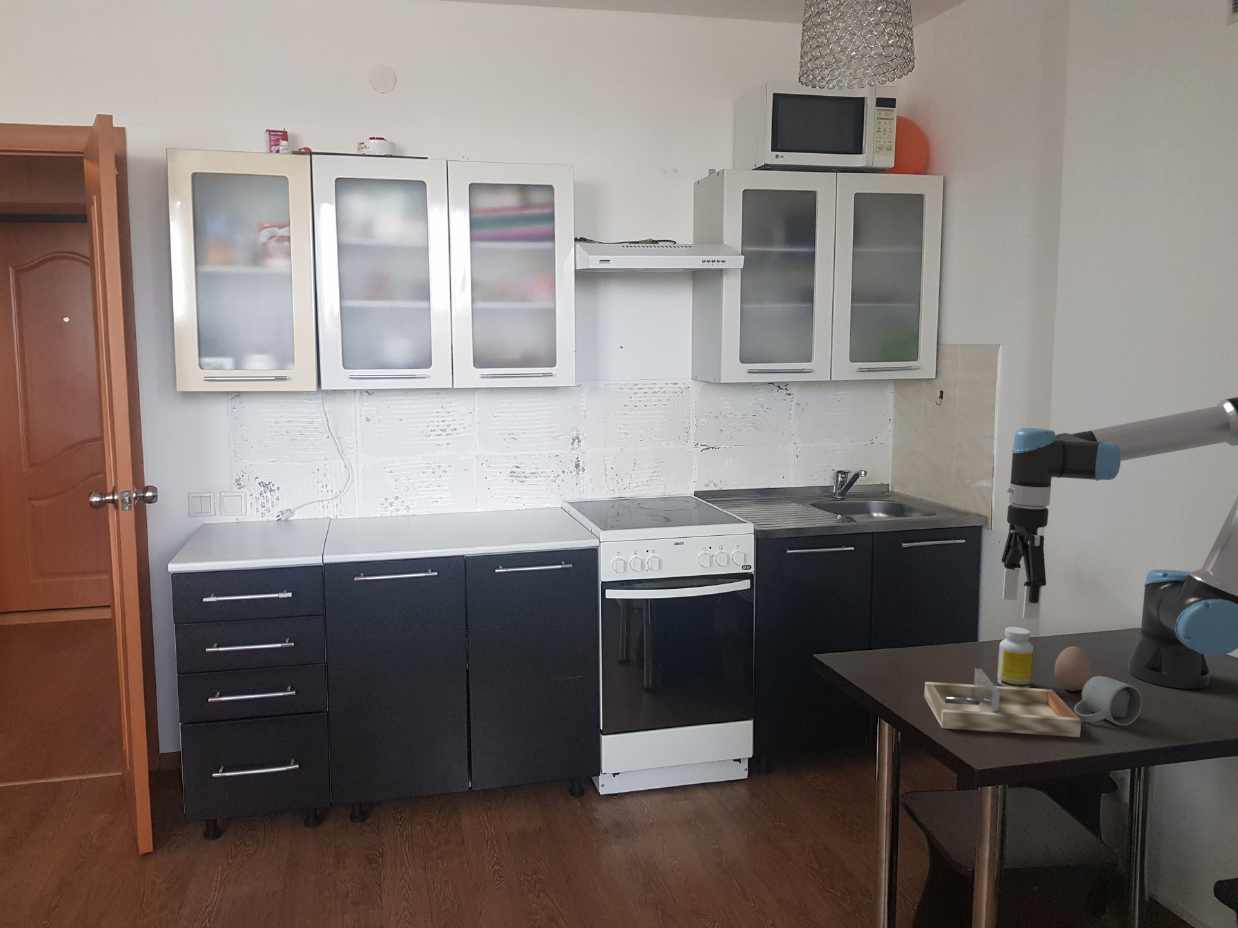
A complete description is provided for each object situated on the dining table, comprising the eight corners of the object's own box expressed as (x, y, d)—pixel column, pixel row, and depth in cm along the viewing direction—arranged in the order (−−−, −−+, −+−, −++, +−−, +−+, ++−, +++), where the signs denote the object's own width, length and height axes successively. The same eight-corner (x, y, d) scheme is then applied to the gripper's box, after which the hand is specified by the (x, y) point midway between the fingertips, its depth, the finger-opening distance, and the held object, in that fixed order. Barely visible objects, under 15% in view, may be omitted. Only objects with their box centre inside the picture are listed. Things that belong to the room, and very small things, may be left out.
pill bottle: (1033, 691, 193) (1038, 636, 192) (999, 688, 194) (1004, 633, 193) (1026, 680, 200) (1031, 626, 198) (993, 677, 201) (998, 624, 199)
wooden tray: (1050, 704, 186) (1051, 689, 186) (1079, 736, 171) (1081, 720, 171) (924, 696, 189) (925, 681, 188) (942, 727, 174) (943, 711, 173)
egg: (1073, 697, 191) (1077, 653, 189) (1045, 686, 196) (1049, 643, 195) (1096, 693, 193) (1100, 649, 192) (1068, 682, 199) (1072, 640, 198)
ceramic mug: (1107, 707, 186) (1110, 669, 185) (1141, 723, 178) (1144, 684, 177) (1062, 713, 183) (1065, 674, 182) (1095, 730, 175) (1098, 689, 174)
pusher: (979, 698, 186) (981, 668, 185) (997, 723, 174) (999, 691, 173) (937, 695, 187) (940, 666, 186) (953, 720, 175) (955, 689, 174)
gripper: (991, 494, 205) (983, 591, 207) (1029, 515, 180) (1019, 625, 183) (1027, 496, 204) (1019, 593, 207) (1070, 517, 179) (1060, 627, 182)
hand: (1019, 608), depth 195 cm, fingers open, 13 cm apart
